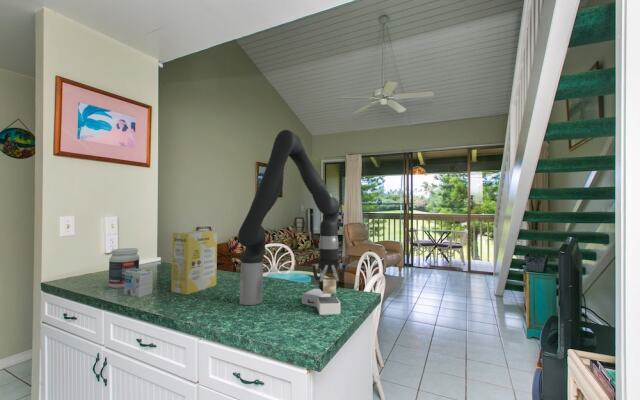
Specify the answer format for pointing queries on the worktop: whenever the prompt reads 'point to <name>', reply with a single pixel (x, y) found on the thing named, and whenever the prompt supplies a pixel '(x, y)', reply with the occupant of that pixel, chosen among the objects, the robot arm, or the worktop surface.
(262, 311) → the worktop surface
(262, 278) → the robot arm
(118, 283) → the supplement tub
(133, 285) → the light bulb box
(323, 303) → the plinth
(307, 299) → the charger
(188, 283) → the yellow carton with handle
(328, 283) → the wooden cube
